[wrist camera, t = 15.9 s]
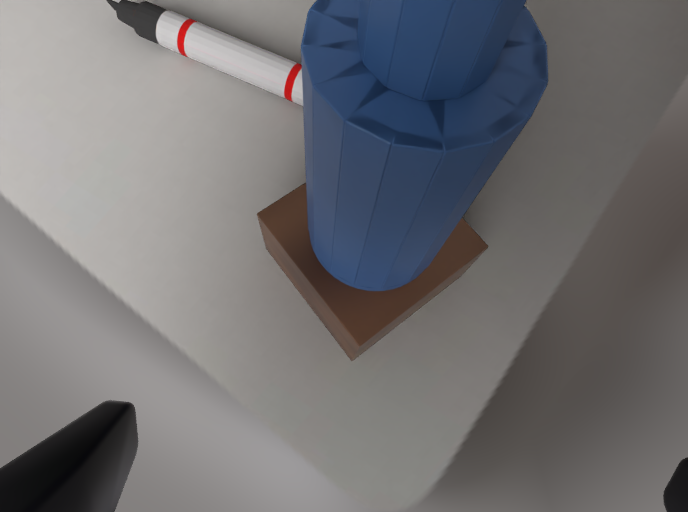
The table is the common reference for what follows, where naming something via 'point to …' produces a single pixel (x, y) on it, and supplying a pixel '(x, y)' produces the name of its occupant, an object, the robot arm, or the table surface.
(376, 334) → the block
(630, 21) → the table surface
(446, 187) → the bottle
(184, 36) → the marker
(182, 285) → the table surface
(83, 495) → the robot arm
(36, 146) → the table surface
